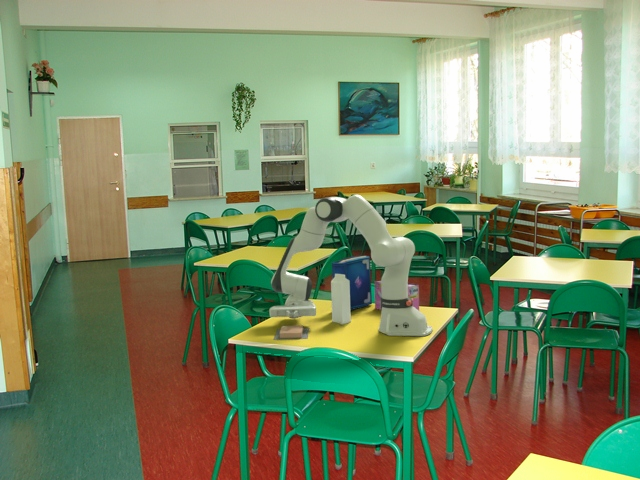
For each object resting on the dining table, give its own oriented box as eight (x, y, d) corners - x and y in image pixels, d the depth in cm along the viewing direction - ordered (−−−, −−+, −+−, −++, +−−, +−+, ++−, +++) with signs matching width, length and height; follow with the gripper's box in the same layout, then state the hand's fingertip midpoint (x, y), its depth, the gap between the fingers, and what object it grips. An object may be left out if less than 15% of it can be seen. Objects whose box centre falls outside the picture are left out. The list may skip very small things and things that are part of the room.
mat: (277, 330, 281) (277, 329, 281) (309, 329, 280) (309, 328, 280) (273, 341, 264) (273, 339, 264) (307, 340, 263) (307, 338, 263)
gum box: (372, 308, 318) (371, 280, 316) (384, 305, 323) (383, 278, 321) (408, 315, 299) (407, 286, 298) (420, 312, 304) (419, 284, 303)
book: (341, 313, 309) (340, 261, 306) (331, 311, 314) (329, 260, 312) (372, 305, 324) (371, 255, 321) (362, 303, 329) (361, 254, 326)
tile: (282, 326, 276) (279, 333, 265) (303, 325, 276) (301, 332, 264) (282, 331, 277) (279, 338, 265) (303, 330, 276) (301, 338, 265)
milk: (342, 324, 287) (340, 275, 284) (332, 323, 291) (330, 274, 288) (351, 321, 291) (349, 273, 289) (340, 320, 295) (338, 272, 293)
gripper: (270, 301, 287) (266, 308, 273) (316, 300, 286) (315, 307, 273) (270, 315, 288) (267, 323, 274) (316, 314, 287) (315, 321, 273)
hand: (291, 315), depth 273 cm, fingers closed
